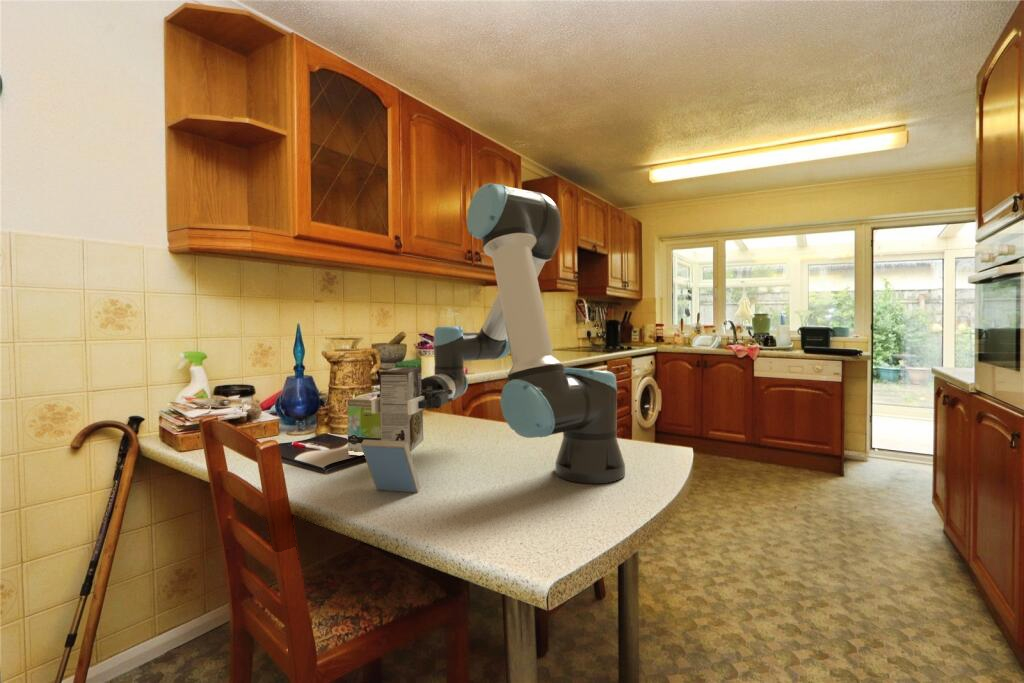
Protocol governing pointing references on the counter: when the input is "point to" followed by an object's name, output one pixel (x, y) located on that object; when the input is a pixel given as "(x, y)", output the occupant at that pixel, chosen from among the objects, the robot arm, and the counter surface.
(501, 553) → the counter surface
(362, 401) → the tea box
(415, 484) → the grey flat piece
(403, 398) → the coffee box
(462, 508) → the counter surface
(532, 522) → the counter surface
